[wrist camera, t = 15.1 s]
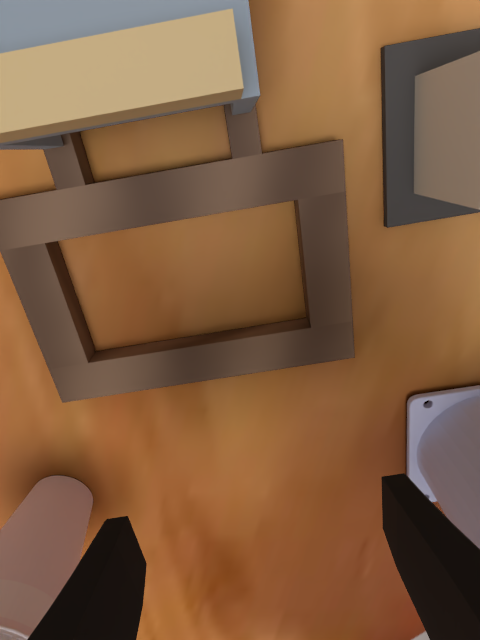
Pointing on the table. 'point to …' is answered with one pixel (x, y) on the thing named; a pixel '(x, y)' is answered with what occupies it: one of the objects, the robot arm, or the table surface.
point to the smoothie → (40, 551)
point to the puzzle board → (171, 205)
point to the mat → (399, 123)
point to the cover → (118, 64)
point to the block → (448, 132)
